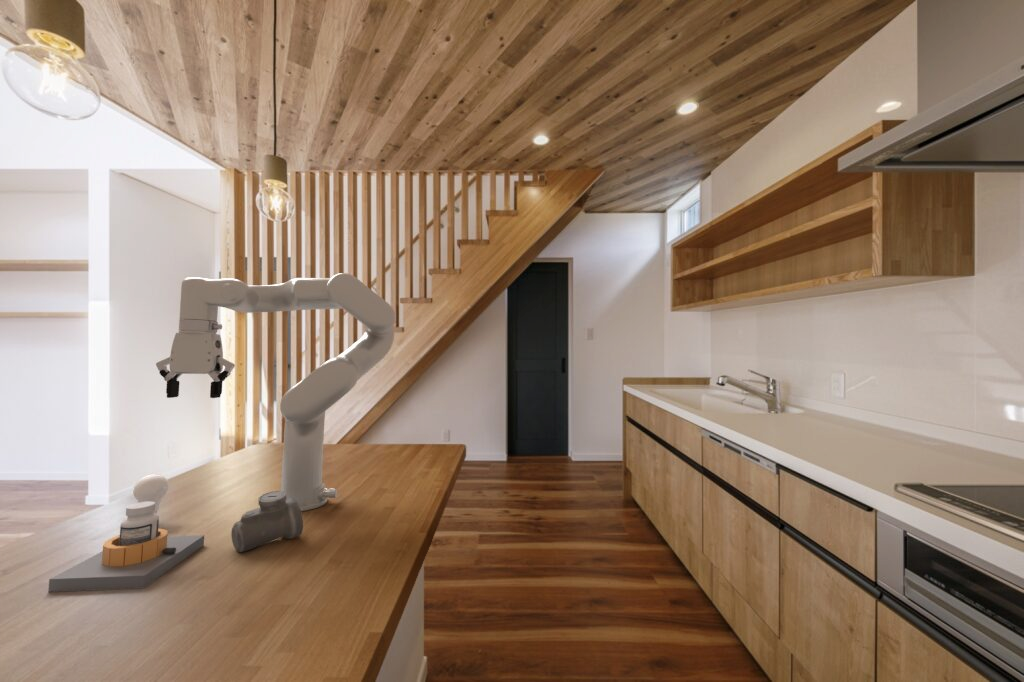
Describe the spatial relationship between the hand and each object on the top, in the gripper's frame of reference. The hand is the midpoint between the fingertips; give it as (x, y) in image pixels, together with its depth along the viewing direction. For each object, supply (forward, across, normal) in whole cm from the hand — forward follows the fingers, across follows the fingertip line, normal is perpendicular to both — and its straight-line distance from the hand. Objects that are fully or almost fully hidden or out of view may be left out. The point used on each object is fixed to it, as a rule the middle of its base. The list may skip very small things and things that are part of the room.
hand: (194, 397), depth 102 cm
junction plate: (+28, -7, +26) cm, 39 cm away
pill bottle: (+26, -7, +26) cm, 38 cm away
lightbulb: (+28, +5, +5) cm, 29 cm away
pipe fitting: (+29, -26, +18) cm, 43 cm away
